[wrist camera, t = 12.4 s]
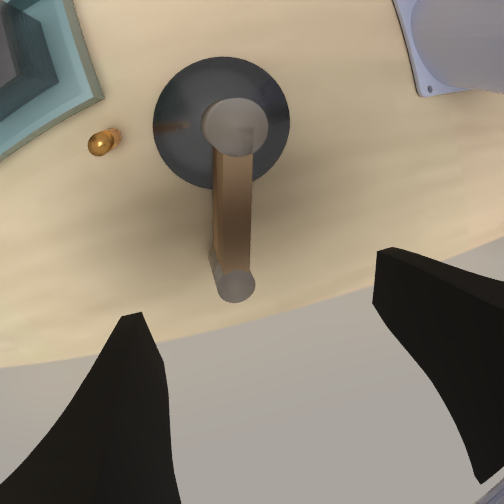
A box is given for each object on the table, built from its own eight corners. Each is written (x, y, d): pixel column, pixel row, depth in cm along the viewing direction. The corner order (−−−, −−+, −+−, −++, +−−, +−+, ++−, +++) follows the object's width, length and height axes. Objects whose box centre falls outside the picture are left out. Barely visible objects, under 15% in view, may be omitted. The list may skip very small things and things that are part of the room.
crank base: (265, 43, 14) (285, 32, 11) (301, 162, 17) (325, 174, 14) (89, 107, 13) (72, 108, 10) (140, 225, 16) (135, 249, 14)
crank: (200, 100, 13) (208, 97, 11) (249, 100, 14) (269, 98, 11) (203, 272, 18) (212, 305, 15) (245, 268, 18) (260, 299, 15)
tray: (67, -18, 9) (54, -33, 7) (104, 98, 13) (93, 97, 11) (-42, 59, 8) (-64, 57, 6) (-9, 168, 12) (-30, 179, 10)
